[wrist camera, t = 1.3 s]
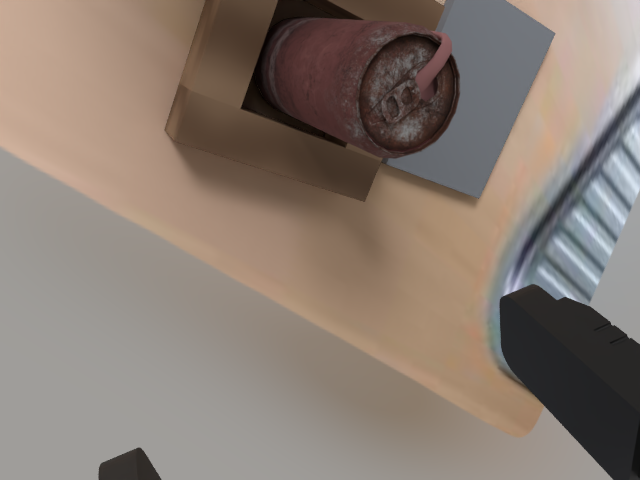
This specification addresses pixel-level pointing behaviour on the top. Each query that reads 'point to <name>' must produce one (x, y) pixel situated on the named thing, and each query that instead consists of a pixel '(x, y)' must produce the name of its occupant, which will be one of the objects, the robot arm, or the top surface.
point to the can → (362, 81)
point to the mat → (481, 91)
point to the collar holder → (257, 129)
